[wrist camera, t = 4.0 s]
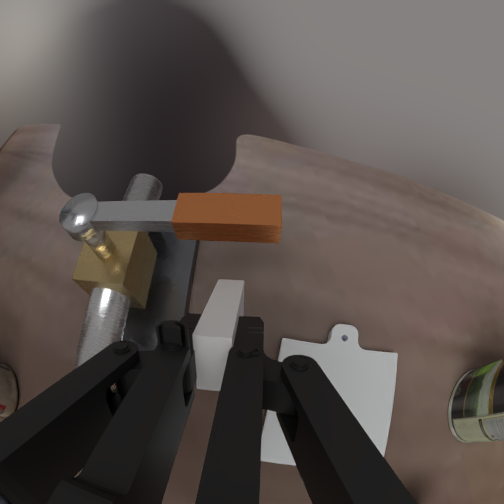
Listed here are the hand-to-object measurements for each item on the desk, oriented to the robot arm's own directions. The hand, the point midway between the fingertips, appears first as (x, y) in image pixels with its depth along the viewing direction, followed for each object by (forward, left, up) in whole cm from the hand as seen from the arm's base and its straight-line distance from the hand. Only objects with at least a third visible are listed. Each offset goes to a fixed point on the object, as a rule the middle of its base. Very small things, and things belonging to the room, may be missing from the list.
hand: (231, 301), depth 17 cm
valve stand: (-11, -8, -14) cm, 19 cm away
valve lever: (-7, -2, 0) cm, 8 cm away
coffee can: (+23, +21, -14) cm, 34 cm away
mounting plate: (+10, +5, -15) cm, 18 cm away
